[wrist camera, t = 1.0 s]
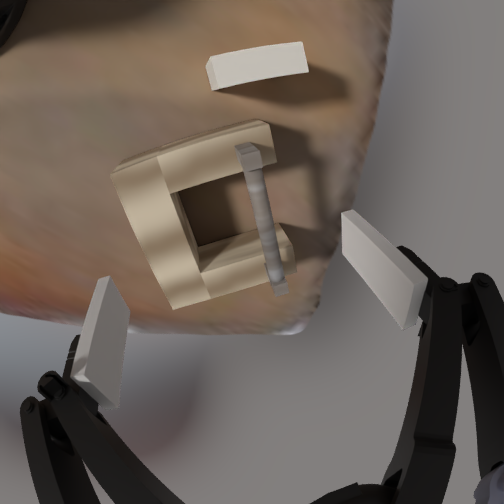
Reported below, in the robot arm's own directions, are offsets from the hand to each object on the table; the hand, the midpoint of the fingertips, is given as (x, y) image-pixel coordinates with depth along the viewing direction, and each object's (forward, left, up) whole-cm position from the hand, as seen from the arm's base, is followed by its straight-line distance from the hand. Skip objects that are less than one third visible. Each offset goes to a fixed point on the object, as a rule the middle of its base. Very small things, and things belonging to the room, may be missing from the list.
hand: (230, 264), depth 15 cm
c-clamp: (+5, -1, -21) cm, 21 cm away
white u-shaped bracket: (-10, +7, -21) cm, 24 cm away
